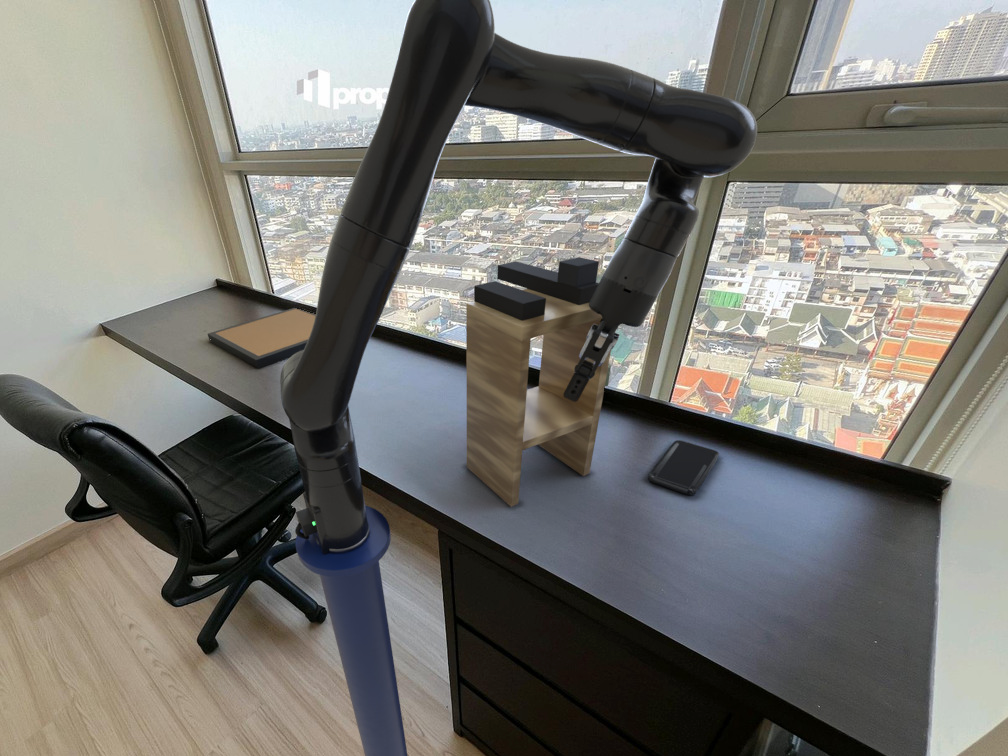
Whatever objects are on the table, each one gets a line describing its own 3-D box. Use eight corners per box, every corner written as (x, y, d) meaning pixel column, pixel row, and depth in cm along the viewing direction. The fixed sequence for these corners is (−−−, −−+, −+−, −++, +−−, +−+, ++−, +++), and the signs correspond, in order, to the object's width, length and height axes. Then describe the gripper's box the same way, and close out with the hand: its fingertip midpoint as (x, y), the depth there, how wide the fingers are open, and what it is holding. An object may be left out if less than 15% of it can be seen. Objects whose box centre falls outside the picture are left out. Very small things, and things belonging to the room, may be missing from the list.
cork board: (298, 314, 183) (209, 341, 164) (297, 306, 181) (207, 333, 162) (354, 334, 160) (258, 368, 141) (352, 326, 158) (255, 359, 140)
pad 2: (578, 305, 71) (583, 267, 68) (497, 279, 86) (498, 247, 83) (599, 299, 72) (604, 262, 69) (515, 275, 87) (516, 243, 84)
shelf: (511, 507, 83) (522, 327, 65) (466, 467, 93) (466, 302, 76) (589, 473, 89) (619, 300, 71) (539, 439, 100) (555, 282, 82)
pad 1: (522, 320, 67) (523, 303, 66) (474, 301, 76) (474, 285, 75) (544, 315, 68) (546, 298, 67) (494, 296, 77) (495, 281, 76)
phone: (647, 475, 85) (676, 438, 94) (646, 480, 86) (675, 443, 95) (695, 492, 81) (721, 452, 89) (694, 497, 81) (719, 457, 90)
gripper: (607, 270, 70) (557, 371, 78) (599, 275, 58) (541, 393, 66) (658, 289, 68) (601, 390, 77) (660, 298, 56) (592, 417, 65)
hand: (573, 391), depth 71 cm, fingers open, 7 cm apart
